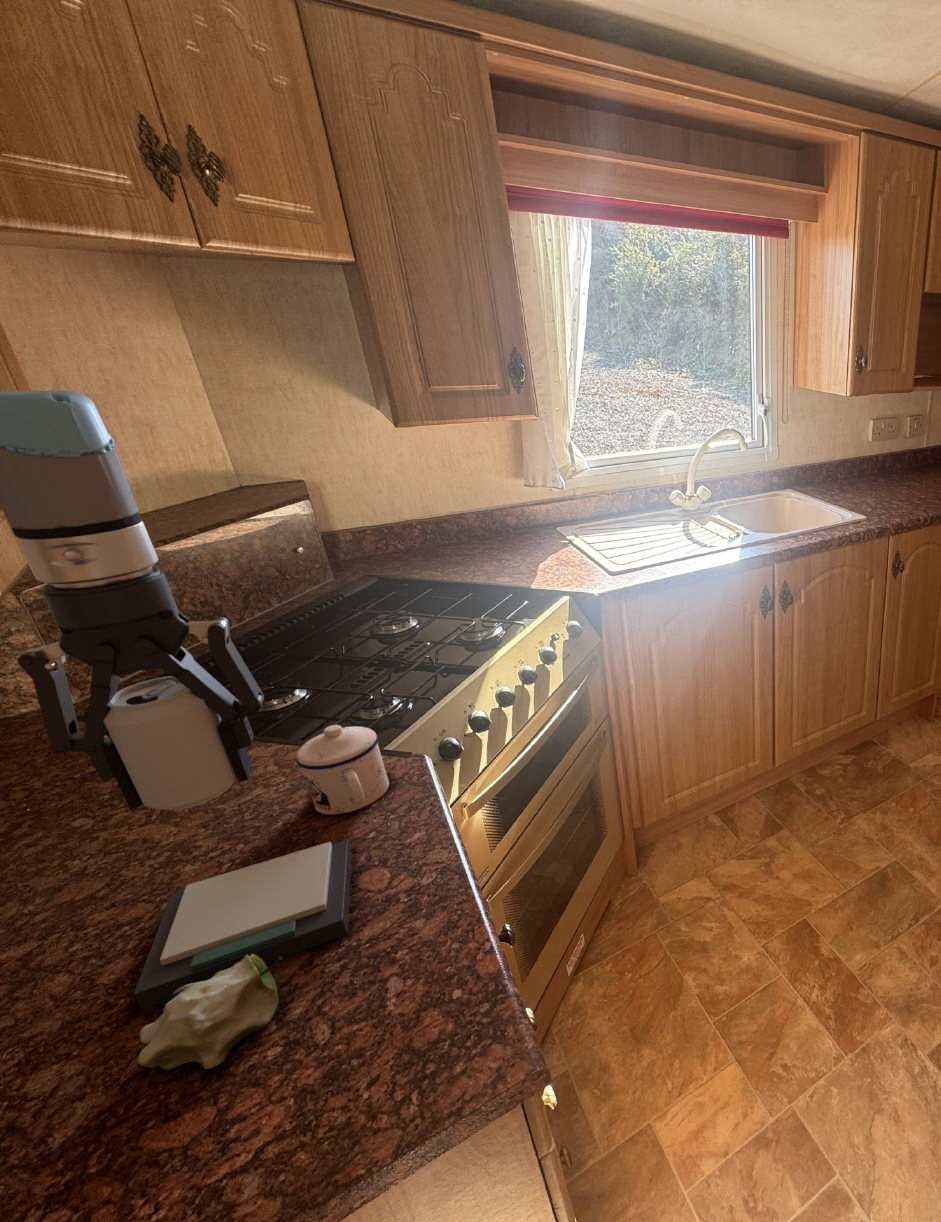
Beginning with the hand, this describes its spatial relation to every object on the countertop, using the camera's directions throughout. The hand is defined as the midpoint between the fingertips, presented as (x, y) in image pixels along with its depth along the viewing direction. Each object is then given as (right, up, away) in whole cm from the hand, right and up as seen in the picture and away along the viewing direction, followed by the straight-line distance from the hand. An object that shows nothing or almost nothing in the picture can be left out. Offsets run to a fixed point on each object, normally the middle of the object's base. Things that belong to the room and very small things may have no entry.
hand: (194, 786), depth 65 cm
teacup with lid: (0, -9, +23) cm, 25 cm away
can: (0, -1, 0) cm, 1 cm away
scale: (+3, -17, +5) cm, 18 cm away
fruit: (+9, -21, -6) cm, 24 cm away
